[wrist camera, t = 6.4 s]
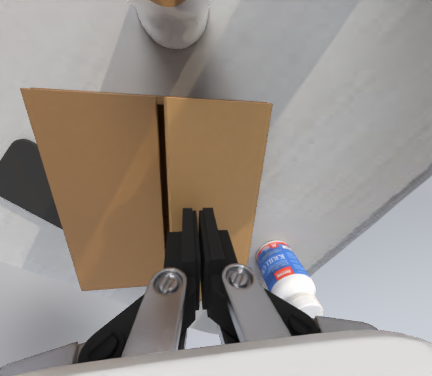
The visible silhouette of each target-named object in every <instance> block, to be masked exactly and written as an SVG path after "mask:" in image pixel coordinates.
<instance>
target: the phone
mask: <svg viewBox="0 0 432 376" xmlns="http://www.w3.org/2000/svg"><path fill="white" fill-rule="evenodd" d="M0 196H1V197H3V198H5V199H7V200H8V201H10V202H12V203H14V204H16V205H18V206H20V207H22V208H23V209H25V210H27V211H29V212H31V213H33V214H35V215H37V216H39V217H40V218H42V219H44V220H46V221H48V222H50V223H52V224H54V225H56V226H57V227H59V228H61V229H63V228H62V225H61V221H60V218H59V215H58V211H57V208H56V205H55V202H54V198H53V195H52V192H51V189H50V185H49V182H48V179H47V175H46V172H45V169H44V166H43V162H42V159H41V156H40V152H39V149H38V146H37V144H35V143H34V142H32V141H30V140H27V139H20V140H16V141H14V142H13V143H12V144H11V146H10V147H9V148H8V150H7V151H6V153H5V154H4V156H3V158H2V159H1V161H0Z"/></svg>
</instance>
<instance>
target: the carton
mask: <svg viewBox="0 0 432 376" xmlns="http://www.w3.org/2000/svg"><path fill="white" fill-rule="evenodd" d="M20 90H21V93H22V97H23V100H24V103H25V106H26V110H27V113H28V116H29V120H30V123H31V126H32V129H33V133H34V136H35V139H36V143H37V146H38V149H39V152H40V156H41V159H42V162H43V166H44V169H45V172H46V175H47V179H48V182H49V185H50V189H51V192H52V195H53V198H54V202H55V205H56V208H57V211H58V215H59V218H60V221H61V225H62V228H63V231H64V234H65V238H66V241H67V244H68V248H69V251H70V254H71V257H72V261H73V264H74V267H75V271H76V274H77V277H78V280H79V284H80V287H81V290H82V291H89V290H101V289H114V288H127V287H140V286H148V284H149V282H150V280H151V278H152V276H153V275H154V274H155V273H156V272H158V271H159V270H161V269H163V266H164V259H165V251H166V243H167V236H168V232H170V229H169V207H168V185H167V163H166V141H165V119H164V97H174V96H157V95H141V94H125V93H109V92H93V91H77V90H61V89H45V88H30V89H28V88H20ZM175 98H190V97H175ZM191 99H206V98H191ZM207 100H222V99H207ZM223 101H238V100H223ZM240 102H254V101H240ZM256 103H267V102H256Z"/></svg>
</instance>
